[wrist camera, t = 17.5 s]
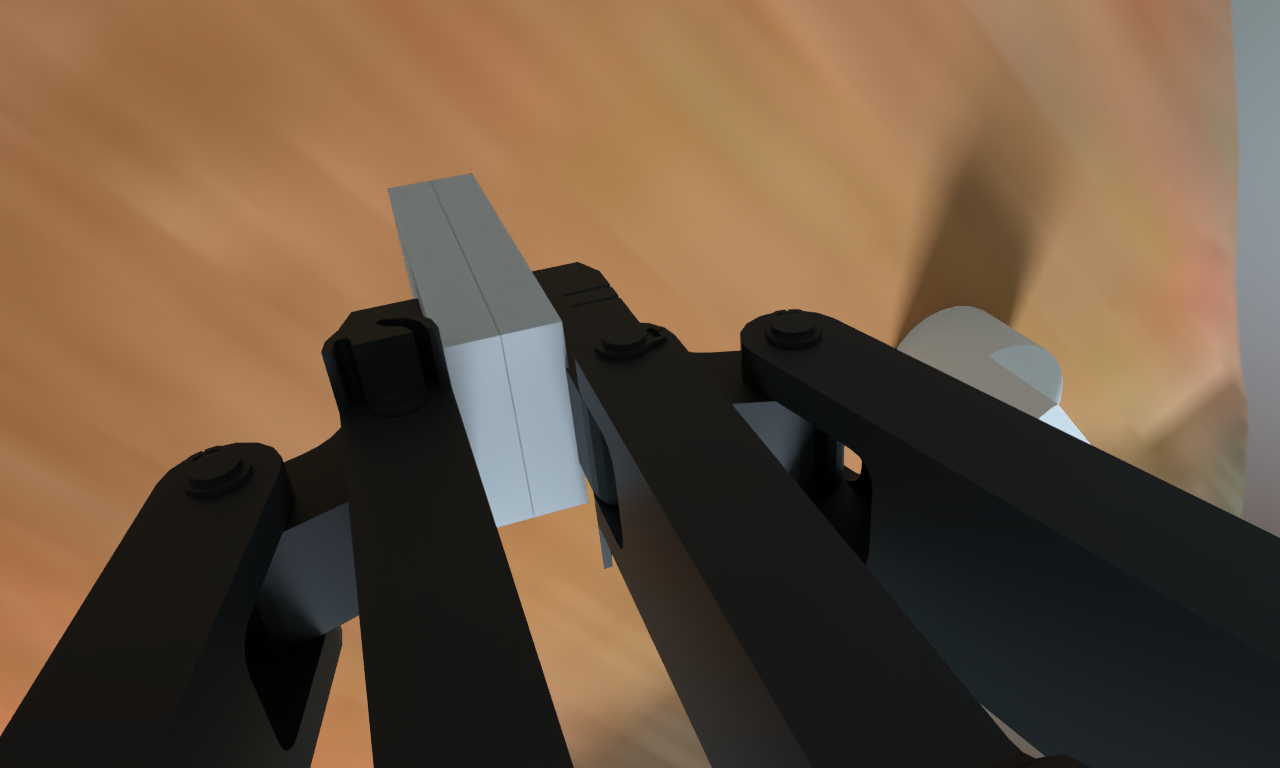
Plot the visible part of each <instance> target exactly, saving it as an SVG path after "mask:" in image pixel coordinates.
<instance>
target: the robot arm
mask: <svg viewBox="0 0 1280 768" xmlns="http://www.w3.org/2000/svg"><path fill="white" fill-rule="evenodd" d="M388 193H389V197H390V201H391V206H392V210H393V214H394V219H395V223H396V227H397V231H398V236H399V240H400V244H401V248H402V253H403V257H404V261H405V265H406V270H407V274H408V278H409V283H410V287H411V291H412V295H413V299H411V300H406V301H402V302H397V303H392V304H387V305H383V306H378V307H373V308H368V309H364V310H359V311H354V312H351V313H350V315H349V316H348V317H347V319H346V320H345V321H344V323H343V324H342V326H341V327H340V328H339V331H337V332H336V333H335V334H333V335H332V336H331V337H330V338H329V339H328V340H327V341H325V343H324V346H323V349H322V352H321V353H322V356H323V360H324V363H325V366H326V370H327V373H328V376H329V380H330V383H331V386H332V390H333V393H334V396H335V400H336V403H337V406H338V410H339V413H340V421H341V428H340V429H339V430H338V431H337V432H336V433H335V434H334V435H333V436H332V437H331V438H330V439H328V440H327V441H325V442H324V443H322V444H321V445H319V446H318V447H316V448H314V449H312V450H310V451H308V452H306V453H304V454H302V455H300V456H298V457H295V458H293V459H291V460H288V461H286V462H284V463H283V460H282V457H281V456H280V454H279V453H278V452H277V451H276V450H275V449H274V447H270V446H267V445H264V444H261V443H233V444H229V445H224V446H215V447H212V448H209V449H205V451H204V452H202V451H200V452H198V453H196V454H194V455H192V456H190V457H189V458H188V459H186V460H185V461H183V462H181V463H180V464H178V465H177V466H175V467H174V468H172V469H171V470H169V471H168V472H167V473H166V475H165V476H164V477H163V478H162V479H161V480H160V481H159V482H158V483H157V484H156V486H155V487H154V489H153V491H152V492H151V494H150V496H149V497H148V499H147V500H146V502H145V504H144V505H143V507H142V508H141V510H140V512H139V513H138V515H137V517H136V518H135V520H134V521H133V523H132V525H131V526H130V528H129V529H128V531H127V533H126V534H125V536H124V538H123V539H122V541H121V542H120V544H119V546H118V547H117V549H116V550H115V552H114V554H113V555H112V557H111V559H110V560H109V562H108V563H107V565H106V567H105V568H104V570H103V571H102V573H101V575H100V576H99V578H98V580H97V581H96V583H95V584H94V586H93V588H92V589H91V591H90V592H89V594H88V596H87V597H86V599H85V601H84V602H83V604H82V605H81V607H80V609H79V610H78V612H77V613H76V615H75V617H74V618H73V620H72V622H71V623H70V625H69V626H68V628H67V630H66V631H65V633H64V634H63V636H62V638H61V639H60V641H59V642H58V644H57V646H56V647H55V649H54V651H53V652H52V654H51V655H50V657H49V659H48V660H47V662H46V663H45V665H44V667H43V668H42V670H41V672H40V673H39V675H38V676H37V678H36V680H35V681H34V683H33V684H32V686H31V688H30V689H29V691H28V693H27V694H26V696H25V697H24V699H23V701H22V702H21V704H20V705H19V707H18V709H17V710H16V712H15V714H14V715H13V717H12V718H11V720H10V722H9V723H8V725H7V726H6V728H5V730H4V731H3V733H2V735H1V736H0V768H310V766H311V762H312V758H313V755H314V751H315V747H316V743H317V739H318V735H319V732H320V728H321V724H322V720H323V716H324V712H325V709H326V705H327V701H328V697H329V693H330V689H331V686H332V682H333V678H334V674H335V670H336V666H337V663H338V659H339V655H340V651H341V647H342V629H341V626H340V625H342V624H344V623H345V622H347V621H349V620H351V619H353V618H355V617H357V616H358V615H359V618H360V629H361V639H362V649H363V660H364V670H365V681H366V691H367V701H368V712H369V722H370V732H371V743H372V753H373V764H374V768H574V767H573V764H572V761H571V758H570V755H569V751H568V748H567V745H566V742H565V739H564V736H563V733H562V730H561V726H560V723H559V720H558V717H557V714H556V711H555V708H554V705H553V702H552V698H551V695H550V692H549V689H548V686H547V683H546V680H545V677H544V673H543V670H542V667H541V664H540V661H539V658H538V655H537V652H536V648H535V645H534V642H533V639H532V636H531V633H530V630H529V627H528V623H527V620H526V617H525V614H524V611H523V608H522V605H521V602H520V599H519V595H518V592H517V589H516V586H515V583H514V580H513V577H512V574H511V570H510V567H509V564H508V561H507V558H506V555H505V552H504V549H503V545H502V542H501V539H500V536H499V533H498V530H497V527H501V526H504V525H508V524H512V523H515V522H519V521H523V520H526V519H530V518H534V517H537V516H541V515H545V514H548V513H552V512H556V511H559V510H563V509H566V508H570V507H574V506H577V505H581V504H585V503H588V497H587V490H586V483H585V476H584V473H585V475H586V477H587V479H588V481H589V483H590V485H591V487H592V489H593V492H594V499H595V506H596V513H597V520H598V527H599V535H600V542H601V549H602V556H603V563H604V569H606V568H609V567H612V556H611V555H613V557H614V559H615V561H616V563H617V566H618V568H619V570H620V572H621V574H622V576H623V578H624V581H625V583H626V585H627V587H628V589H629V591H630V593H631V596H632V598H633V600H634V602H635V604H636V606H637V608H638V610H639V613H640V615H641V617H642V619H643V621H644V623H645V625H646V628H647V630H648V632H649V634H650V636H651V638H652V640H653V643H654V645H655V647H656V649H657V651H658V653H659V655H660V657H661V660H662V662H663V664H664V666H665V668H666V670H667V672H668V675H669V677H670V679H671V681H672V683H673V685H674V687H675V690H676V692H677V694H678V696H679V698H680V700H681V702H682V704H683V707H684V709H685V711H686V713H687V715H688V717H689V719H690V722H691V724H692V726H693V728H694V730H695V732H696V734H697V737H698V739H699V741H700V743H701V745H702V747H703V749H704V751H705V754H706V756H707V758H708V760H709V762H710V764H711V766H712V768H1280V538H1279V537H1277V536H1275V535H1273V534H1271V533H1269V532H1267V531H1265V530H1263V529H1260V528H1258V527H1256V526H1254V525H1252V524H1250V523H1248V522H1246V521H1244V520H1242V519H1240V518H1238V517H1236V516H1234V515H1232V514H1230V513H1228V512H1226V511H1224V510H1222V509H1220V508H1218V507H1216V506H1214V505H1212V504H1210V503H1208V502H1206V501H1204V500H1202V499H1200V498H1198V497H1196V496H1194V495H1191V494H1189V493H1187V492H1185V491H1183V490H1181V489H1179V488H1177V487H1175V486H1173V485H1171V484H1169V483H1167V482H1165V481H1163V480H1161V479H1159V478H1157V477H1155V476H1153V475H1151V474H1149V473H1147V472H1145V471H1143V470H1141V469H1139V468H1137V467H1135V466H1133V465H1131V464H1129V463H1127V462H1125V461H1122V460H1120V459H1118V458H1116V457H1114V456H1112V455H1110V454H1108V453H1106V452H1104V451H1102V450H1100V449H1098V448H1096V447H1094V446H1092V445H1090V444H1088V443H1086V442H1084V441H1082V440H1080V439H1078V438H1076V437H1074V436H1072V435H1070V434H1068V433H1066V432H1064V431H1062V430H1060V429H1058V428H1055V427H1053V426H1051V425H1049V424H1047V423H1045V422H1043V421H1041V420H1039V419H1037V418H1035V417H1033V416H1031V415H1029V414H1027V413H1025V412H1023V411H1021V410H1019V409H1017V408H1015V407H1013V406H1011V405H1009V404H1007V403H1005V402H1003V401H1001V400H999V399H997V398H995V397H993V396H991V395H988V394H986V393H984V392H982V391H980V390H978V389H976V388H974V387H972V386H970V385H968V384H966V383H964V382H962V381H960V380H958V379H956V378H954V377H952V376H950V375H948V374H946V373H944V372H942V371H940V370H938V369H936V368H934V367H932V366H930V365H928V364H926V363H924V362H922V361H919V360H917V359H915V358H913V357H911V356H909V355H907V354H905V353H903V352H901V351H899V350H897V349H895V348H893V347H891V346H889V345H887V344H885V343H883V342H881V341H879V340H877V339H875V338H873V337H871V336H869V335H867V334H865V333H863V332H861V331H859V330H857V329H855V328H852V327H850V326H848V325H846V324H844V323H842V322H840V321H838V320H836V319H834V318H832V317H829V316H826V315H823V314H820V313H815V312H807V311H802V310H799V309H788V311H786V310H780V311H775V312H774V313H771V314H767V315H763V316H760V317H758V318H756V319H754V320H752V321H751V322H749V323H747V324H746V325H745V327H744V328H743V330H742V331H741V332H740V342H741V351H728V352H712V353H694V352H688V350H687V349H686V348H685V347H684V346H683V344H682V343H681V342H680V341H679V340H678V338H677V337H676V336H675V335H674V334H673V333H671V332H670V331H669V330H667V329H666V328H664V327H661V326H657V325H653V324H650V323H639V321H638V320H637V319H636V317H635V316H634V315H633V314H632V312H631V311H630V310H629V308H628V307H627V306H626V305H625V303H624V302H623V301H622V299H621V298H619V297H618V294H617V293H616V292H615V290H614V289H613V288H612V287H610V284H609V283H608V281H607V280H606V279H605V278H604V276H603V275H602V274H601V272H600V271H598V270H596V269H593V268H591V267H588V266H586V265H584V264H581V263H579V262H575V263H571V264H566V265H561V266H556V267H552V268H547V269H542V270H537V271H531V270H530V268H529V266H528V265H527V263H526V261H525V260H524V258H523V256H522V255H521V253H520V251H519V250H518V248H517V247H516V245H515V243H514V242H513V240H512V238H511V237H510V235H509V233H508V232H507V230H506V228H505V227H504V225H503V223H502V222H501V220H500V219H499V217H498V215H497V214H496V212H495V210H494V209H493V207H492V205H491V204H490V202H489V200H488V199H487V197H486V196H485V194H484V192H483V191H482V189H481V187H480V186H479V184H478V182H477V181H476V179H475V177H474V176H473V174H472V173H471V174H465V175H460V176H454V177H449V178H443V179H438V180H432V181H427V182H421V183H416V184H410V185H405V186H399V187H393V188H388ZM844 445H845V446H847V447H848V448H850V449H851V450H852V451H853V452H855V453H856V454H857V455H858V456H859V457H860V458H861V460H862V469H861V474H858V473H855V472H854V471H852V470H851V469H849V468H847V467H846V466H844ZM980 704H981V705H983V706H984V707H985V708H986V709H988V710H989V711H990V712H991V713H993V714H994V715H995V716H996V717H997V718H999V719H1000V720H1001V721H1002V722H1004V723H1005V724H1006V725H1007V726H1009V727H1010V728H1011V729H1012V730H1014V731H1015V732H1016V733H1017V734H1018V735H1020V736H1021V737H1022V738H1023V739H1025V740H1026V741H1027V742H1028V743H1030V744H1031V745H1032V746H1033V747H1034V748H1036V749H1037V750H1038V751H1039V752H1041V753H1042V754H1043V755H1044V756H1046V757H1042V758H1036V759H1035V758H1033V757H1031V756H1029V755H1027V754H1025V753H1023V752H1022V751H1021V750H1020V749H1019V748H1018V747H1017V746H1016V745H1015V744H1014V743H1013V742H1011V741H1010V740H1009V738H1008V737H1007V736H1006V735H1005V734H1004V732H1003V731H1002V730H1001V729H1000V728H999V726H998V725H997V724H996V723H995V722H994V720H993V719H992V718H991V717H990V715H989V714H988V713H987V712H986V711H985V709H984V708H983V707H982V706H981V705H980Z"/></svg>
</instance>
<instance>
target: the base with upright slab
mask: <svg viewBox="0 0 1280 768" xmlns="http://www.w3.org/2000/svg"><path fill="white" fill-rule="evenodd" d="M897 350H899V351H901V352H903V353H905V354H907V355H909V356H911V357H913V358H915V359H917V360H919V361H922V362H924V363H926V364H928V365H930V366H932V367H934V368H936V369H938V370H940V371H942V372H944V373H946V374H948V375H950V376H952V377H954V378H956V379H958V380H960V381H962V382H964V383H966V384H968V385H970V386H972V387H974V388H976V389H978V390H980V391H982V392H984V393H986V394H988V395H991V396H993V397H995V398H997V399H999V400H1001V401H1003V402H1005V403H1007V404H1009V405H1011V406H1013V407H1015V408H1017V409H1019V410H1021V411H1023V412H1025V413H1027V414H1029V415H1031V416H1033V417H1035V418H1037V419H1039V420H1041V421H1043V422H1045V423H1047V424H1049V425H1051V426H1053V427H1055V428H1058V429H1060V430H1062V431H1064V432H1066V433H1068V434H1070V435H1072V436H1074V437H1076V438H1078V439H1080V440H1082V441H1084V442H1086V443H1088V444H1090V443H1089V442H1088V441H1087V439H1086V438H1085V437H1084V436H1083V435H1082V433H1081V432H1080V431H1079V430H1078V428H1077V427H1076V426H1075V425H1074V423H1073V422H1072V421H1071V420H1070V418H1069V417H1068V416H1067V415H1066V413H1065V412H1064V411H1063V410H1062V408H1061V407H1060V406H1059V402H1060V400H1061V393H1062V387H1063V381H1062V372H1061V368H1060V366H1059V364H1058V362H1057V360H1056V358H1055V357H1054V356H1053V355H1051V354H1050V353H1049V352H1048V351H1047V350H1046V349H1044V348H1043V347H1041V346H1039V345H1038V344H1036V343H1035V342H1033V341H1031V340H1030V339H1028V338H1027V337H1025V336H1023V335H1022V334H1020V333H1019V332H1017V331H1016V330H1014V329H1012V328H1011V327H1009V326H1008V325H1006V324H1004V323H1003V322H1001V321H1000V320H998V319H996V318H995V317H993V316H992V315H990V314H989V313H987V312H985V311H984V310H981V309H978V308H975V307H972V306H954V307H951V308H947V309H943V310H940V311H938V312H936V313H934V314H933V315H931V316H929V317H927V318H925V319H924V320H923V321H922V322H920V323H919V324H918V325H917V326H915V327H914V328H913V329H912V330H911V331H910V332H909V333H908V334H907V336H906V337H905V338H904V339H903V340H902V342H901V343H900V344H899V346H898V348H897ZM1090 445H1091V444H1090Z"/></svg>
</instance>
